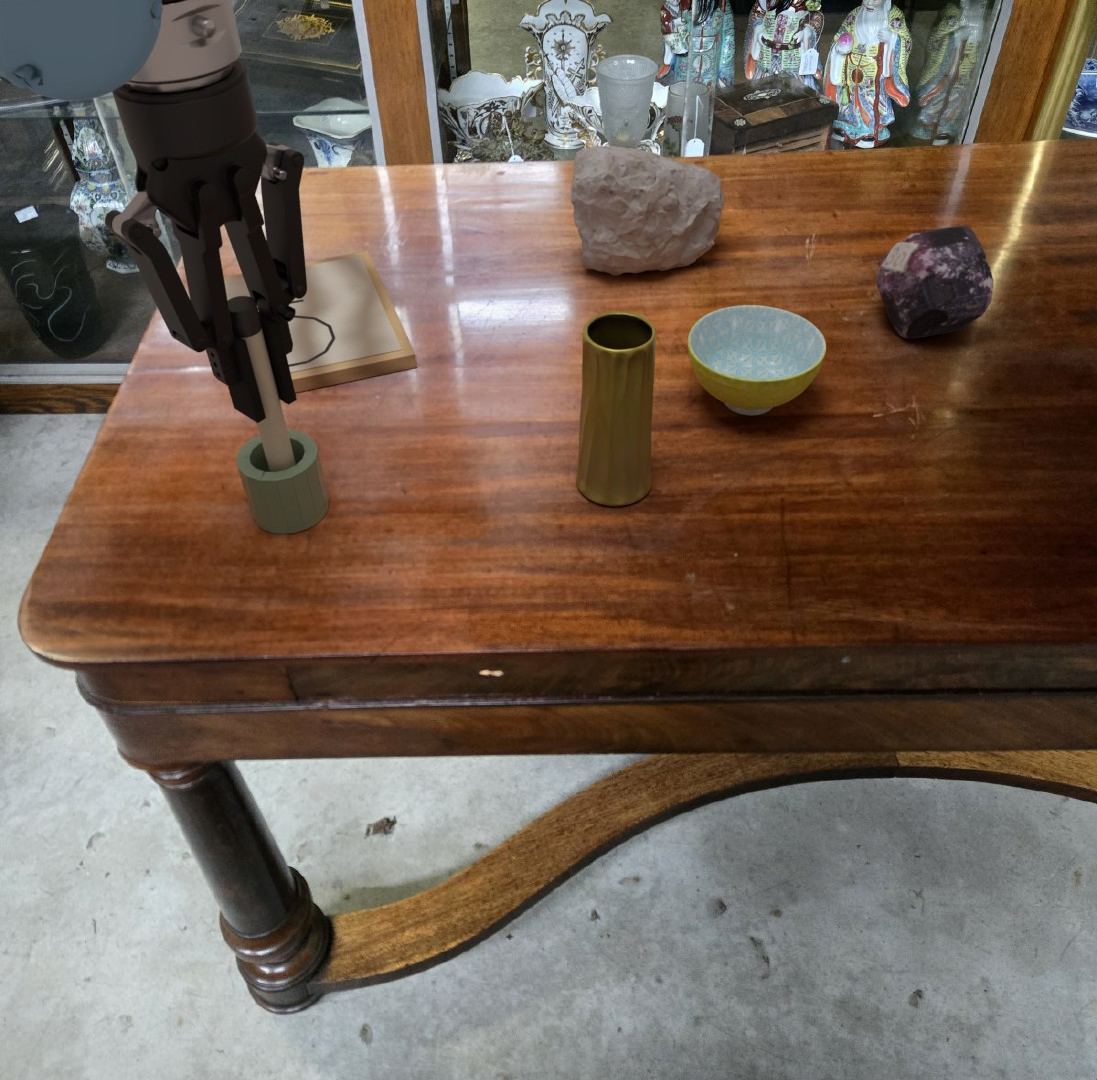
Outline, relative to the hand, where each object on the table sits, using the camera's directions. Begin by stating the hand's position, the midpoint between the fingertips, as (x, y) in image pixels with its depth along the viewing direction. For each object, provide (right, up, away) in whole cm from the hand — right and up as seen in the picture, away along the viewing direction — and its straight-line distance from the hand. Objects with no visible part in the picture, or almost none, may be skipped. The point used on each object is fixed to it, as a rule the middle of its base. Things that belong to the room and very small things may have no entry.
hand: (265, 403), depth 75 cm
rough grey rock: (+30, +19, +33) cm, 49 cm away
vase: (+26, -5, +9) cm, 28 cm away
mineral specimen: (+56, +11, +24) cm, 62 cm away
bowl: (+38, +2, +16) cm, 41 cm away
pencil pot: (0, -7, +7) cm, 10 cm away
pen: (0, -4, +4) cm, 6 cm away
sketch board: (-3, +11, +25) cm, 28 cm away
